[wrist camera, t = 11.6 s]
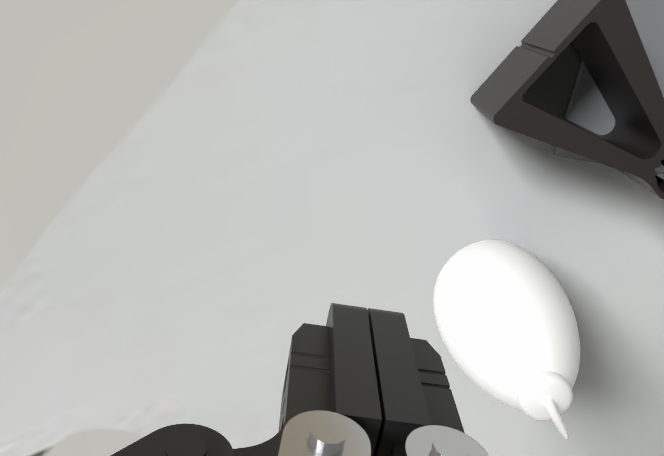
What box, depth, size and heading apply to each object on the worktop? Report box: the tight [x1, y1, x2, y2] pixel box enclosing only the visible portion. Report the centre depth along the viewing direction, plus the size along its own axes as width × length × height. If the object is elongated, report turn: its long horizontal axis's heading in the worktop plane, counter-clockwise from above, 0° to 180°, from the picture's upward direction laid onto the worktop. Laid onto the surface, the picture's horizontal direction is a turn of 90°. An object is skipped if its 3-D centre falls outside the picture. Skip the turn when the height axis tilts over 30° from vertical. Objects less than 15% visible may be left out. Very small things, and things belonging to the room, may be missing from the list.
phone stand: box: [471, 0, 664, 199], centre depth 37 cm, size 9×6×12 cm
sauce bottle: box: [434, 240, 580, 439], centre depth 36 cm, size 8×8×18 cm
